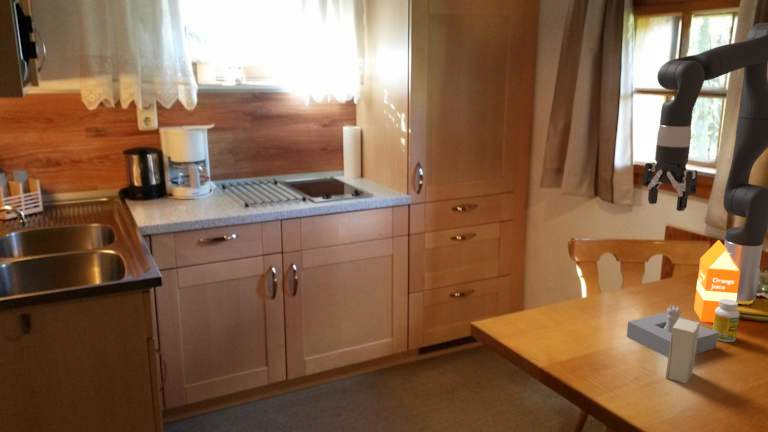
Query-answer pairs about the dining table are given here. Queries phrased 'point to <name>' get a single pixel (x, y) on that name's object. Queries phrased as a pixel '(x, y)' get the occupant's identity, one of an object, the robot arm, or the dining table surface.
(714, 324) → the supplement bottle
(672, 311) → the rook chess piece
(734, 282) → the orange juice
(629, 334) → the socket block
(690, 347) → the skincare box
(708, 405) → the dining table surface
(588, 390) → the dining table surface
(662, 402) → the dining table surface
